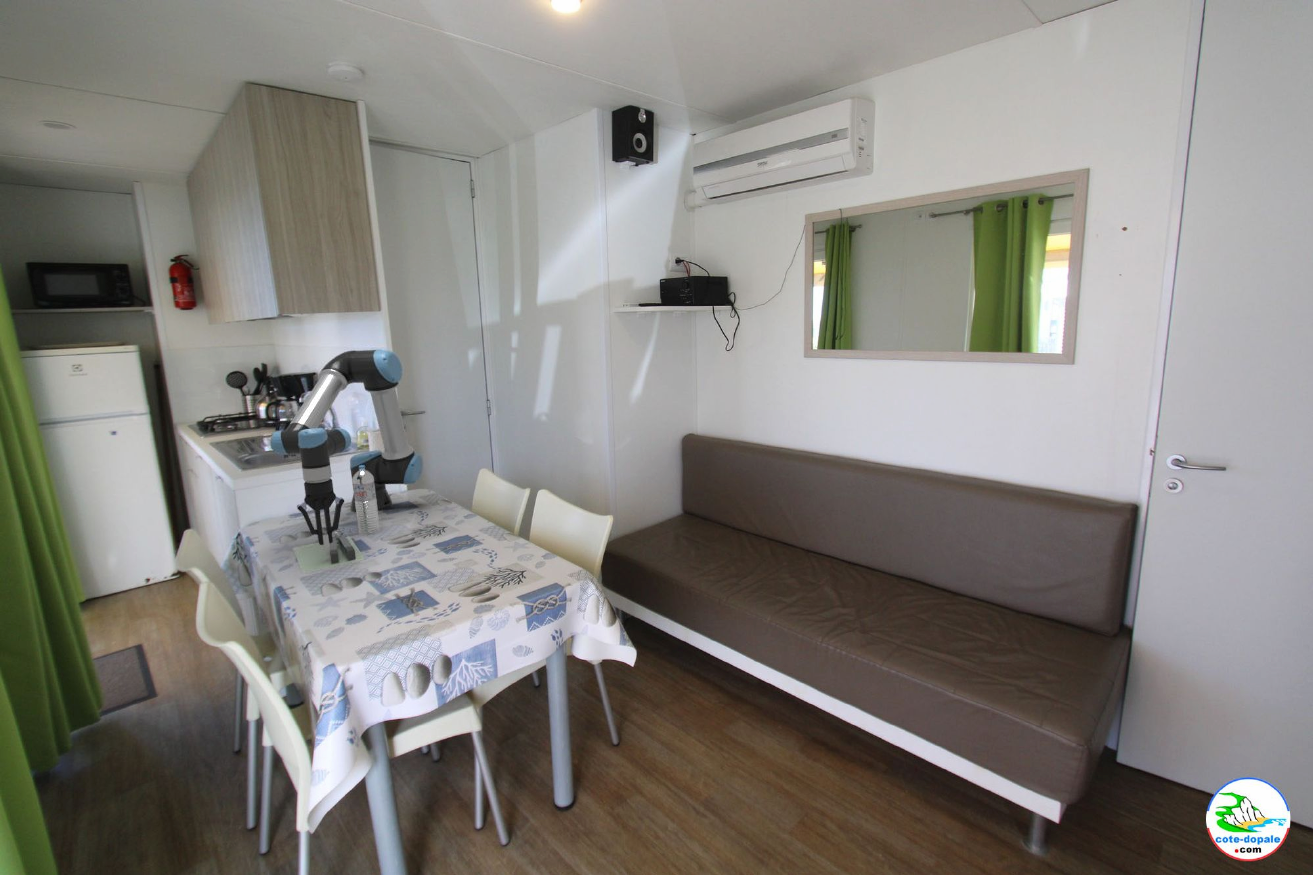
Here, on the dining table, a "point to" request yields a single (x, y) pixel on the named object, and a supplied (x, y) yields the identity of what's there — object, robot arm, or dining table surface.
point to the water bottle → (366, 502)
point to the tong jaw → (334, 551)
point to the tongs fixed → (344, 544)
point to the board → (322, 557)
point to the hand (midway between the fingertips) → (327, 553)
